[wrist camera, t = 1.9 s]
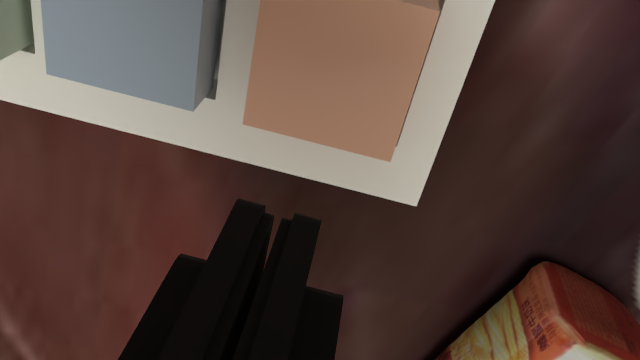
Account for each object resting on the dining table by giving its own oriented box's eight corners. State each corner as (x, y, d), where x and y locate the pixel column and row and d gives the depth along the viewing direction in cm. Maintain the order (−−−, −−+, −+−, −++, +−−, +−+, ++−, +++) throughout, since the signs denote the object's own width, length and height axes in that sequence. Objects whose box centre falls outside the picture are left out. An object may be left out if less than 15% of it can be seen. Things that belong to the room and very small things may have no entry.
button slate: (73, -99, 20) (33, -92, 18) (228, -59, 20) (207, -48, 18) (79, 53, 23) (46, 74, 21) (212, 87, 23) (193, 111, 21)
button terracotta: (280, -46, 20) (265, -33, 18) (437, -6, 20) (440, 11, 18) (257, 99, 23) (242, 124, 21) (392, 133, 23) (390, 162, 21)
